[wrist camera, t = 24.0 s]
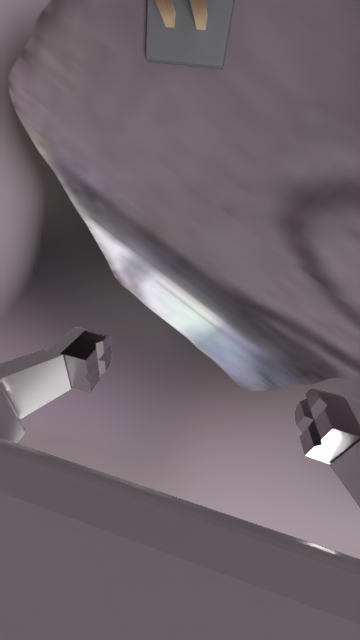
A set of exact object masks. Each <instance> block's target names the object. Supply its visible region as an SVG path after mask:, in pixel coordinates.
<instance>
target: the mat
mask: <svg viewBox="0 0 360 640" xmlns="http://www.w3.org/2000/svg"><path fill="white" fill-rule="evenodd" d="M205 1H206V7H207V14H208V16H207V24H206V30H197V29H196V24H195V20H194V16H193V11H192V7H191V3H190V0H172V3H173V6H174V9H175V12H176V16H175V28H173V27H166V26H165V23H164V21H163V19H162V16H161V14H160V11H159V9H158V7H157V4H156V2H155V0H148V10H147V43H146V59H147V61H148V62H157V63H166V64H176V65H185V66H195V67H204V68H214V69H223V65H224V59H225V53H226V47H227V41H228V35H229V29H230V23H231V18H232V12H233V6H234V0H205Z"/></svg>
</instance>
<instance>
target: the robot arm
mask: <svg viewBox="0 0 360 640" xmlns="http://www.w3.org/2000/svg"><path fill="white" fill-rule="evenodd" d="M111 344H112V340H111V337H110V336H108V335H105V334H101V333H98V332H94V331H91V330H86V329H83V328H80V327H75V328H73V329H72V330H70V331H69V332H68V333H67V334H66V335H64V336H63V337H62V338H61V339H60V340H59V341H58V342H56V343H55V344H54V345H53V346H51V347H50V349H48V350H41V351H37V352H34V353H31V354H29V355H25V356H22V357H19V358H16V359H13V360H10V361H7V362H4V363H1V364H0V640H360V559H358V558H355V557H352V556H349V555H346V554H343V553H340V552H337V551H334V550H331V549H328V548H326V547H323V546H320V545H316V544H314V543H311V542H308V541H305V540H302V539H299V538H296V537H293V536H290V535H287V534H284V533H281V532H278V531H275V530H272V529H269V528H266V527H263V526H260V525H257V524H254V523H251V522H248V521H245V520H243V519H240V518H237V517H234V516H230V515H227V514H225V513H221V512H219V511H216V510H213V509H210V508H207V507H204V506H201V505H198V504H195V503H192V502H189V501H186V500H183V499H180V498H177V497H174V496H171V495H168V494H165V493H163V492H160V491H156V490H154V489H151V488H148V487H145V486H141V485H139V484H136V483H133V482H130V481H127V480H124V479H121V478H118V477H115V476H112V475H109V474H106V473H103V472H100V471H97V470H94V469H91V468H88V467H85V466H82V465H80V464H77V463H73V462H70V461H68V460H65V459H62V458H59V457H56V456H53V455H50V454H47V453H44V452H41V451H38V450H35V449H32V448H29V447H26V446H23V445H20V444H17V442H18V441H19V440H20V439H21V438H22V436H23V435H24V434H25V428H24V426H23V424H22V422H21V420H20V419H21V418H23V417H25V416H26V415H28V414H30V413H31V412H33V411H35V410H36V409H38V408H40V407H41V406H43V405H45V404H46V403H48V402H50V401H52V400H53V399H55V398H57V397H58V396H60V395H62V394H63V393H65V392H67V391H68V390H70V389H71V388H75V389H78V390H83V391H86V392H90V393H91V392H92V390H93V389H94V388H95V386H96V385H97V384H98V382H99V381H100V374H102V373H105V372H106V371H107V369H108V368H109V366H110V364H111V361H112V356H113V352H112V350H111V349H110V347H109V346H110V345H111ZM305 395H306V398H307V399H305V400H302V401H300V402H299V404H298V405H297V406H296V410H295V421H296V425H297V426H298V428H299V429H300V430H301V431H302V434H301V436H300V440H301V443H302V447H303V451H304V454H305V456H307V457H310V458H313V459H317V460H319V461H323V462H326V463H329V464H330V466H331V468H332V469H333V471H334V472H335V473H336V474H337V476H338V478H339V479H340V480H341V482H342V483H343V485H344V486H345V487H346V489H347V490H348V491H349V493H350V494H351V496H352V497H353V498H354V500H355V501H356V503H357V504H358V506H359V507H360V402H359V401H358V400H357V399H354V398H350V397H345V396H340V395H337V394H333V393H329V392H325V391H321V390H317V389H313V388H312V389H310V390H308V392H307V393H306V394H305Z"/></svg>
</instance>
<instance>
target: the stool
mask: <svg viewBox="0 0 360 640" xmlns="http://www.w3.org/2000/svg"><path fill="white" fill-rule="evenodd" d="M155 2H156V4H157V7H158V9H159V11H160V14H161V16H162V19H163V21H164V23H165V26H166V27H173V28H175V16H176V12H175V9H174V6H173V3H172V0H155ZM190 3H191V7H192V11H193V16H194V20H195V24H196V29H197V30H206V24H207V16H208V14H207V7H206V1H205V0H190Z"/></svg>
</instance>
